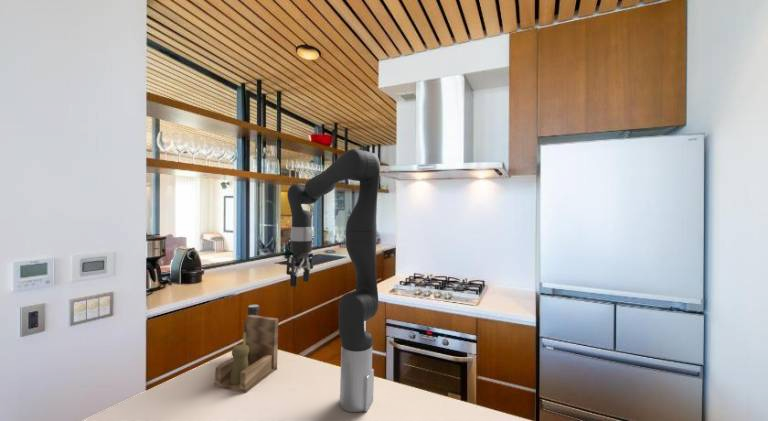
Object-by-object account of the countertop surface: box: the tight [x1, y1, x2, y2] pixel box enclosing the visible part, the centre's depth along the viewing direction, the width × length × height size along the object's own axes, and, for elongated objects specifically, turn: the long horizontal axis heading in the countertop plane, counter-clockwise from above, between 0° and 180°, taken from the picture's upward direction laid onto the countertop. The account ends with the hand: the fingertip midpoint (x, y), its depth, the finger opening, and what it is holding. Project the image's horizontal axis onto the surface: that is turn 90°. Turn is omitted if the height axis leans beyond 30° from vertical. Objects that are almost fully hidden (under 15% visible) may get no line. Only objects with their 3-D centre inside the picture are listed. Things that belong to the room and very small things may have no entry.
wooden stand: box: [213, 314, 279, 394], centre depth 108 cm, size 12×16×18 cm
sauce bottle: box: [242, 304, 260, 345], centre depth 122 cm, size 7×6×20 cm
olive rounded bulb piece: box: [230, 343, 249, 385], centre depth 104 cm, size 6×6×11 cm
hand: (300, 283), depth 116 cm, fingers open, 8 cm apart
